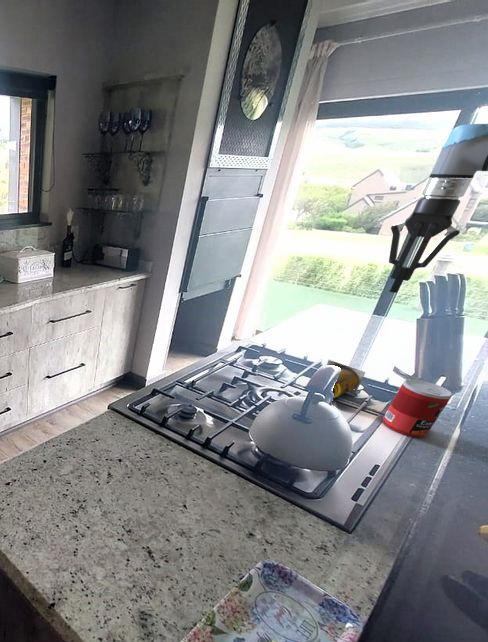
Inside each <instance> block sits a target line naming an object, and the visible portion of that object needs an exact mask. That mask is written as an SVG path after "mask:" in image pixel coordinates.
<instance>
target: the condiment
mask: <svg viewBox="0 0 488 642" xmlns="http://www.w3.org/2000/svg"><path fill="white" fill-rule="evenodd" d="M326 365H335V366H338V367H340V368H341V372H340V374H339V377H338V379H337V381H336V383H335V385H334V388H333V393H334V396H335V397H334V398H333V399H336V398H338V397H340V396H342V395H343V394H347V395H350V396H353V397H355V395H356V393H357V391H358V389H359V387H360V385H361V383H362V381H363V379H364V377H365V375H366V372H365V371H363V370H360V369H357V368H356V367H351V366H350V365H346V364H343V363H340V362H337V361H334V360H331V359H328V360H327V363H326ZM353 389H355V390H353ZM356 390H357V391H356Z"/></svg>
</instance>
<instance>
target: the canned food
mask: <svg viewBox="0 0 488 642" xmlns="http://www.w3.org/2000/svg"><path fill="white" fill-rule="evenodd" d="M452 396H453V393H452V392H451V391H450V390H449V389H447V388H445V387H443V386H441V385H438V384H436V383H433V382H429V381H425V380H422V379H421V380H420V379H414V378H413V379H411V378H408V379H405V380H404V381H403V382H402V384H401V385H400V386H399V388H398V391H397V392H396V394H395V395H394V397H393V400H392V401H391V402H390V404H389V406H388V408H387V410H386V411H385V413H384V416H382V417H383V418H382V423H383V424H384V426H386V428H389V429H390V430H392V431H393V432H396V433H398V434H401V435H404V436H407V437H412V438H424V437H425V436H426V435H428V434H429V432H430V431H431V429H432V428H433V426H434V425H435V423H436V422H437V420H438V418H440V416H441V414H442V412H443V411H444V409H445V408H446V406H447V405H448V403H449V402H450V400H451V399H452Z"/></svg>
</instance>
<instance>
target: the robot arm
mask: <svg viewBox="0 0 488 642" xmlns="http://www.w3.org/2000/svg"><path fill="white" fill-rule="evenodd" d="M477 172H488V123H467V124H461V125H457V126H456V127H454V128H453V129H452V130H451V132H450V133H449V135H448V138H447V139H446V141H445V143H444V144H443V146H441V150H440V152H439V154H438V156H437V158H436V161H435V163H434V165H433V168H432V170H431V172H430V174H429V176H428V178H427V180H426V182H425V184H424V186H423V188H422V190H421V193H420V196H422V197H420V198H418V199H417V201H416V203H415V204H414V208H413V209H412V212H411V214H409V216H408V217H407V218H406V219H405V221H402V222H400V223H397V224H393V225H391V227H390V230H391V234H392V239H391V244H390V250H389V257H388V263H389V264H391V265H394V269H393V271H392V273H391V275H390V279H392V280H393V279H394V281H393V283H392V285H391V287H390V289H389V291H388V292H389V293H394V294H396V293H398V291H399V290H400V288H401V286H402V283H403V282H404V281H405V282H406V281H407V282H408V281H410V280H411V278H412V276H413V275H414V272H415V271H416V269H420V268H426V267H427V266H428V265H429V264H430V263H431V262H432V261H433V260H434V259H435V257H436V256H437V255H438V254H439V253H440V251H441V250H443V249H444V247H445V246H446V245H447V244H448V243H449V241H450V240H452V239H454V238H455V237H457V236H458V235H460V233H461V230H459V229H457V228H455V227H454V226H453V217H454V215H455V213H456V212H457V209H458V207H459V205H461V200H460V199H459V198H462V197H464V196H465V194H466V193H467V191H468V189H469V187H470V185H471V183H472V181H473V179H474V177H475V175H476V173H477ZM404 228H406V230H407V233H408V235H409V238H408V240H407V242H406V244H405V246H404V248H403V250H402V252H401V255H400V256H399V258H398V257H397V256H398V250H399V247H400V246H399V245H400V240H401V239H400V238H401V232H402V231H404ZM444 231H445V233H444V234H443V235H444V237H443V238H442V239H441V240H440V241H439V243H437V245H436V246H435V247H434V248H433V249H432V251H430V253H429V254H428V255H427V256H426V257H425V259H423V260H422V261H421V258H422V256H423V255H424V252H425V250H426V248H427V247H428V245H429V243H430V241H431V239H432V238H435V237H436V236H437V235H439V234H441V233H442V232H444ZM418 237H421V238H423V239H422V241H421V242H420V244H419V246H418V248H417V250H416V253H415V254H414V257H413V259H412V261H411V262H410V264H409V266H404V264H405V262H406V260H407V259H408V257H409V254H410V252H411V251H412V249H413V246H414V244H415V242H416V241H417V238H418Z"/></svg>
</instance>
